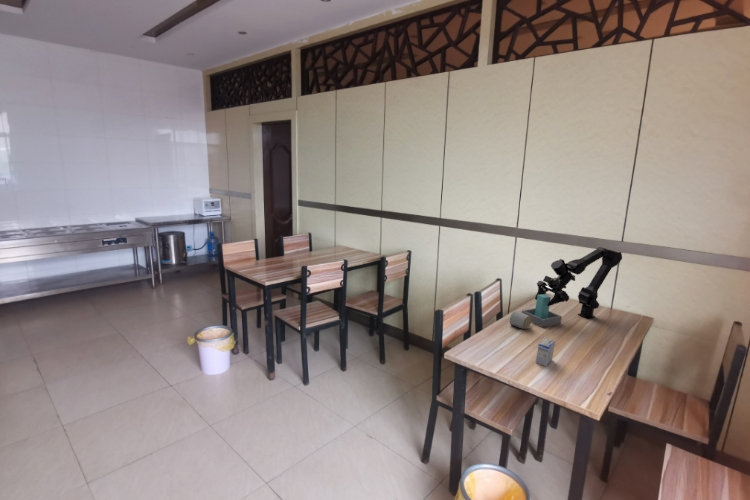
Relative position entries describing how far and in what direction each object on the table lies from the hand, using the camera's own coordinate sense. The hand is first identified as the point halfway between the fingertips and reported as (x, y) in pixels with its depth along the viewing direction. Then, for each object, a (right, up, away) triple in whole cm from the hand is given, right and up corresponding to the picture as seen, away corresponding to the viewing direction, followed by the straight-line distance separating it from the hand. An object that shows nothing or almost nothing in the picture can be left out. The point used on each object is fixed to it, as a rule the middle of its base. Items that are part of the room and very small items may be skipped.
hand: (541, 302), depth 204 cm
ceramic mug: (-13, -11, -6) cm, 18 cm away
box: (+1, -10, +3) cm, 10 cm away
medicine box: (-16, -19, -41) cm, 48 cm away
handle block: (+1, -9, +2) cm, 10 cm away
